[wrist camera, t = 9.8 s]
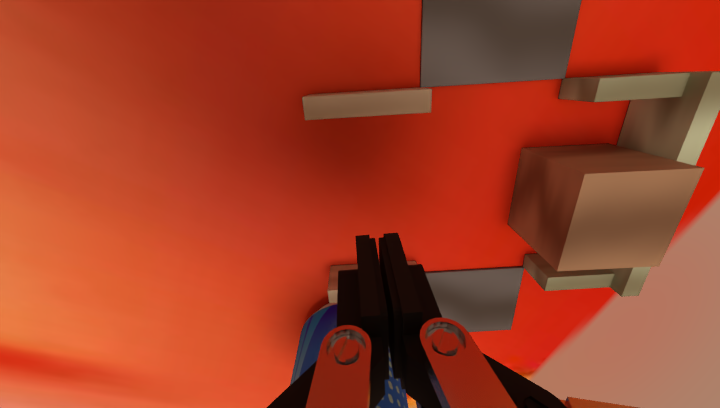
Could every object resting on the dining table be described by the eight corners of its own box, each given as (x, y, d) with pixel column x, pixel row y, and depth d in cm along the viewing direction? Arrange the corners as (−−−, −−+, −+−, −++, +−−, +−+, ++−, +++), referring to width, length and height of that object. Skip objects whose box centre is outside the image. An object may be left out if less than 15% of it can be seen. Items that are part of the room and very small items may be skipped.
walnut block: (520, 147, 20) (584, 174, 14) (607, 143, 20) (704, 168, 14) (507, 223, 22) (557, 271, 17) (583, 219, 22) (659, 266, 17)
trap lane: (292, -46, 15) (273, -86, 12) (706, -73, 15) (820, -123, 11) (339, 337, 27) (337, 378, 23) (573, 324, 27) (609, 363, 23)
